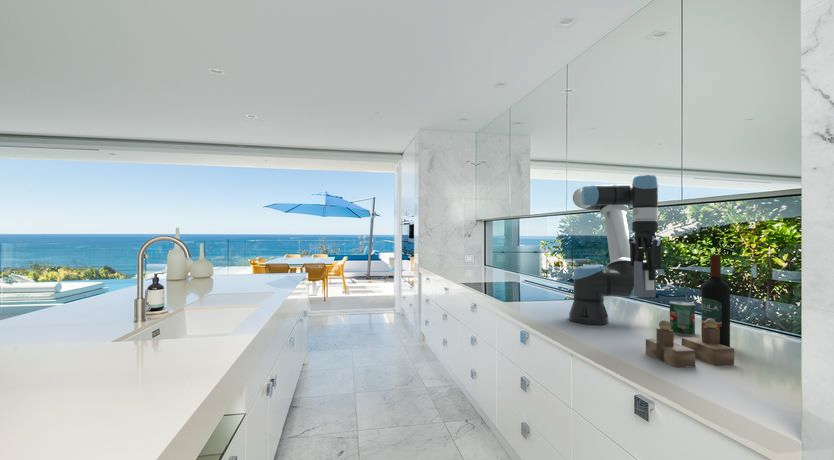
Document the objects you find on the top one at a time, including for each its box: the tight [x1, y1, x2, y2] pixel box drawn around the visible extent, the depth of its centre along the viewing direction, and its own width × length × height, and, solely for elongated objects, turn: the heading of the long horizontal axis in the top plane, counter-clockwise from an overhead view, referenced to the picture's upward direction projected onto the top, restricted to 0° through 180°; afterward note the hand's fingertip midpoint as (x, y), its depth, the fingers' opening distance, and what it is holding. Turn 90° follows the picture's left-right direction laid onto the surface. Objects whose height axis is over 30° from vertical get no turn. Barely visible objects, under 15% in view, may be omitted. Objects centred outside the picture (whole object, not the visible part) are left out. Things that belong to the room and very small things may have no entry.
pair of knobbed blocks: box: [645, 319, 735, 368], centre depth 115 cm, size 12×18×12 cm, turn 97°
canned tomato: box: [669, 300, 696, 336], centre depth 144 cm, size 8×8×11 cm
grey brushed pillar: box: [634, 260, 657, 298], centre depth 133 cm, size 4×5×12 cm
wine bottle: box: [700, 254, 731, 348], centre depth 128 cm, size 8×8×30 cm
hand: (644, 288), depth 133 cm, fingers closed on grey brushed pillar, 4 cm apart
